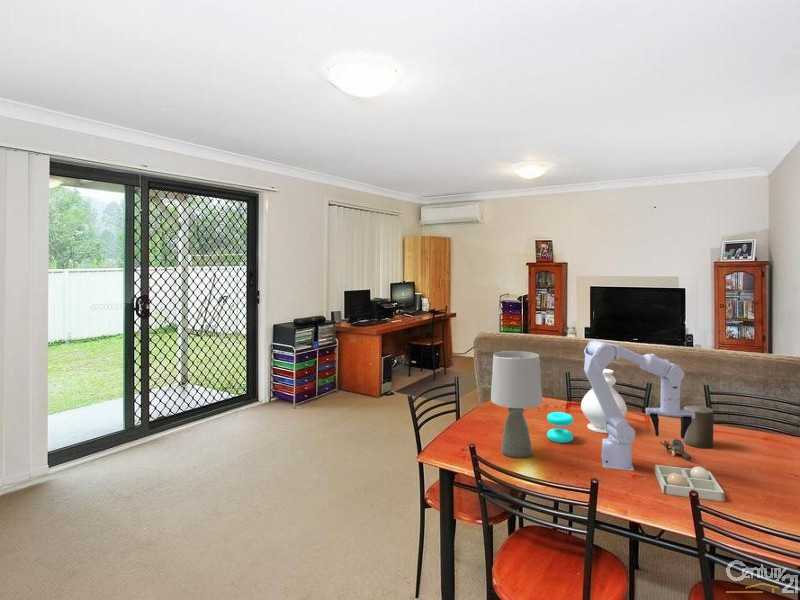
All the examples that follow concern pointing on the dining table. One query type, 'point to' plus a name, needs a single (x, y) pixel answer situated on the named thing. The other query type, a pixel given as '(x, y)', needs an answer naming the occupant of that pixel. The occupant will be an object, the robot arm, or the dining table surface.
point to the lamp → (516, 396)
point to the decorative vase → (594, 409)
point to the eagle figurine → (676, 448)
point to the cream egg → (699, 473)
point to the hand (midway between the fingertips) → (669, 436)
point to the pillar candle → (700, 427)
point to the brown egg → (676, 480)
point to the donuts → (558, 433)
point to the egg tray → (689, 484)
